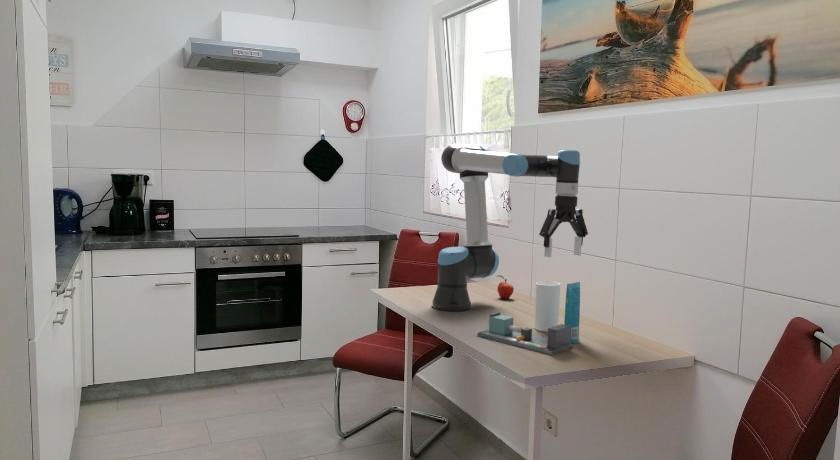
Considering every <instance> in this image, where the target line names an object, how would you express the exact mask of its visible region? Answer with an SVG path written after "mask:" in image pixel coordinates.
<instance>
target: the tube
mask: <svg viewBox="0 0 840 460" xmlns="http://www.w3.org/2000/svg"><path fill="white" fill-rule="evenodd" d="M564 307H565V308H564V319H563V320H564V323H563V325H568V326H570V339H569V343H571V344H577V343H579V341H580V317H581V315H580V314H581V313H580V309H581V282H580V281H576V282H572V283H571V282H570V283H567V284H566V292H565V306H564Z"/></svg>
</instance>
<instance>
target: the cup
mask: <svg viewBox="0 0 840 460" xmlns="http://www.w3.org/2000/svg"><path fill="white" fill-rule="evenodd" d="M534 297H535V298H534V299H535V301H534V303H535V304H534V318H533V320H534V321H533V322H534V323H533V329H534V330H537V331H541V332H547V333H548V328H551V327H554V326H557V325H559V317H560V302H561V301H560V298H561V283H559V282H558V281H549V280H547V281H546V280H545V281H544V280H541V281H536V284H535V296H534Z"/></svg>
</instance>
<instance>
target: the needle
mask: <svg viewBox="0 0 840 460" xmlns="http://www.w3.org/2000/svg"><path fill="white" fill-rule="evenodd" d="M532 334H533V328H530V327H524V328H523V329H522V331H521V336H519V337H517V339H516V340H517V341H519V340H522V339H525V340H527V339H530V338H532Z"/></svg>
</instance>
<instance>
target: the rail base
mask: <svg viewBox="0 0 840 460" xmlns="http://www.w3.org/2000/svg"><path fill="white" fill-rule="evenodd" d="M519 336H521V333H520V332H516V331H513V333H509V334H506V335H501V334H497V333H493V332H489V328H488V329H485V330H481V331H478V332H477V337H480V338H483V339H488V340H491V341H495V342H500V343H504V344H508V345H510V346H516V347H519V348H522V349H526V350H530V351H535V352H538V353H542V354H546V355H549V356H553V355H556V354H559V353H561V352H564V351H567V350H570V349H572V348H573V343H569V339H570V326H568V325H564V323H561V324H558V325H557V326H554V327H551V328H548V332H547V336H543V335H542V336H541V335H538V334H533V333H532V338H530V339H527V340H525V339H522V340H519V341H517V340H516V339H517V337H519Z"/></svg>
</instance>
